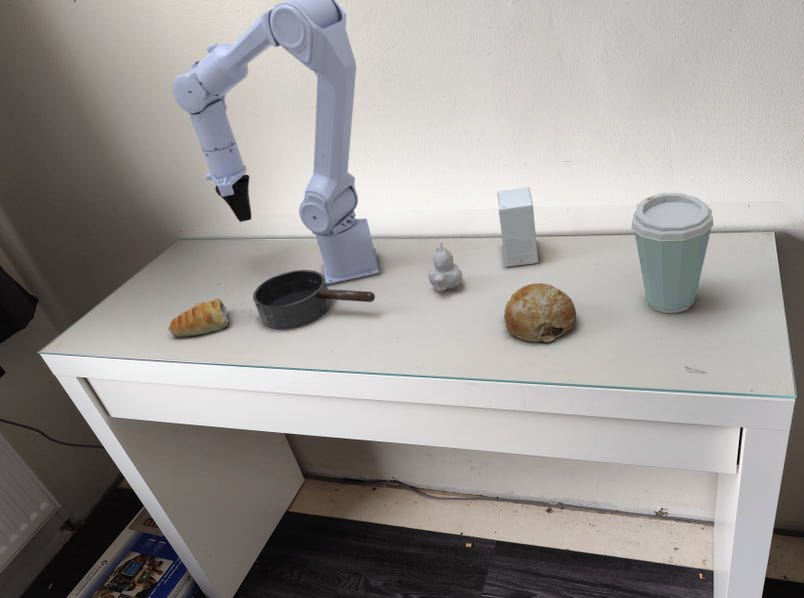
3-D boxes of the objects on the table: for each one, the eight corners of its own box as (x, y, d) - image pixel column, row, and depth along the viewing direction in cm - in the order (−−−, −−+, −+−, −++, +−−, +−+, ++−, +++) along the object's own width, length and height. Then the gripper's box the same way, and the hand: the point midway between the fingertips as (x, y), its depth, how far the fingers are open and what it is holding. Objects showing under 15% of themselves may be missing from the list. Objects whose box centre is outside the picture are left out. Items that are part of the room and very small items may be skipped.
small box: (538, 264, 112) (533, 205, 106) (505, 268, 112) (498, 209, 106) (535, 242, 118) (530, 186, 112) (503, 246, 119) (497, 190, 113)
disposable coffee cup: (724, 303, 95) (734, 204, 86) (667, 332, 91) (672, 232, 83) (669, 276, 103) (673, 183, 94) (615, 302, 99) (614, 208, 90)
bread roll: (523, 367, 96) (532, 336, 89) (488, 314, 100) (494, 280, 93) (581, 341, 98) (593, 310, 92) (544, 291, 103) (553, 257, 96)
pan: (330, 285, 116) (324, 264, 114) (332, 319, 107) (325, 297, 104) (263, 299, 116) (255, 278, 113) (258, 336, 106) (250, 313, 104)
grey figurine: (468, 278, 111) (461, 235, 107) (456, 299, 106) (449, 255, 102) (437, 278, 113) (429, 235, 108) (425, 298, 108) (416, 254, 103)
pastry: (172, 345, 107) (163, 325, 105) (172, 326, 113) (163, 306, 111) (231, 327, 109) (223, 307, 107) (228, 309, 115) (220, 290, 112)
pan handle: (317, 300, 107) (315, 292, 106) (322, 295, 108) (320, 286, 107) (373, 304, 104) (371, 295, 103) (377, 298, 105) (375, 290, 104)
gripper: (201, 137, 119) (227, 208, 127) (189, 163, 107) (219, 240, 115) (240, 129, 120) (264, 201, 128) (232, 155, 108) (259, 231, 116)
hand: (245, 219), depth 121 cm, fingers closed
